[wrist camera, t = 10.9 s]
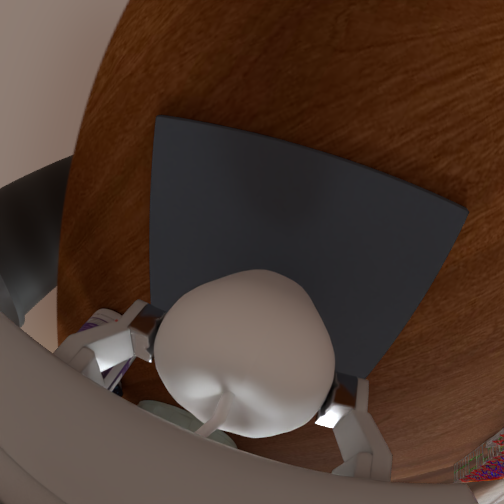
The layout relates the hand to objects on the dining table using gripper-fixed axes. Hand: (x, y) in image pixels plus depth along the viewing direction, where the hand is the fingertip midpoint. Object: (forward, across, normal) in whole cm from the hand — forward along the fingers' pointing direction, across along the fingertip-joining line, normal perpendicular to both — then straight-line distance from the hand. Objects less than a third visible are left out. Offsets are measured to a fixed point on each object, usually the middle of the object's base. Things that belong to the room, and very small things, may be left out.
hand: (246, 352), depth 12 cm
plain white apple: (+3, 0, 0) cm, 3 cm away
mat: (+6, 0, 0) cm, 6 cm away
